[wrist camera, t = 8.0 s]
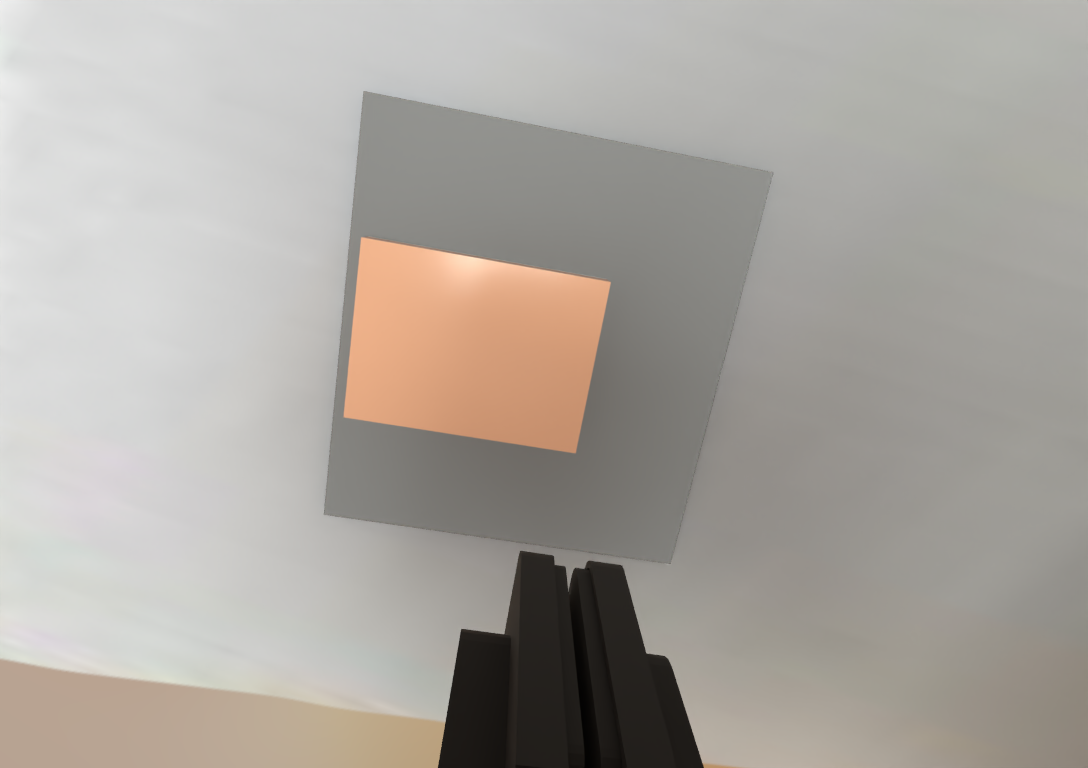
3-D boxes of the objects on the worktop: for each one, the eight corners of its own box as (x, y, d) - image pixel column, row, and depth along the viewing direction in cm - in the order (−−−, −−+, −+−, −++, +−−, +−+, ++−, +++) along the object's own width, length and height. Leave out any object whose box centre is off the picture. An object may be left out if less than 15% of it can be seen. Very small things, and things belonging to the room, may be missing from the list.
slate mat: (768, 173, 30) (773, 172, 30) (668, 558, 36) (670, 563, 35) (366, 93, 29) (363, 91, 28) (327, 509, 34) (323, 514, 34)
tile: (610, 282, 29) (361, 237, 28) (575, 453, 32) (343, 417, 31) (606, 278, 31) (369, 236, 30) (573, 442, 33) (352, 407, 32)
